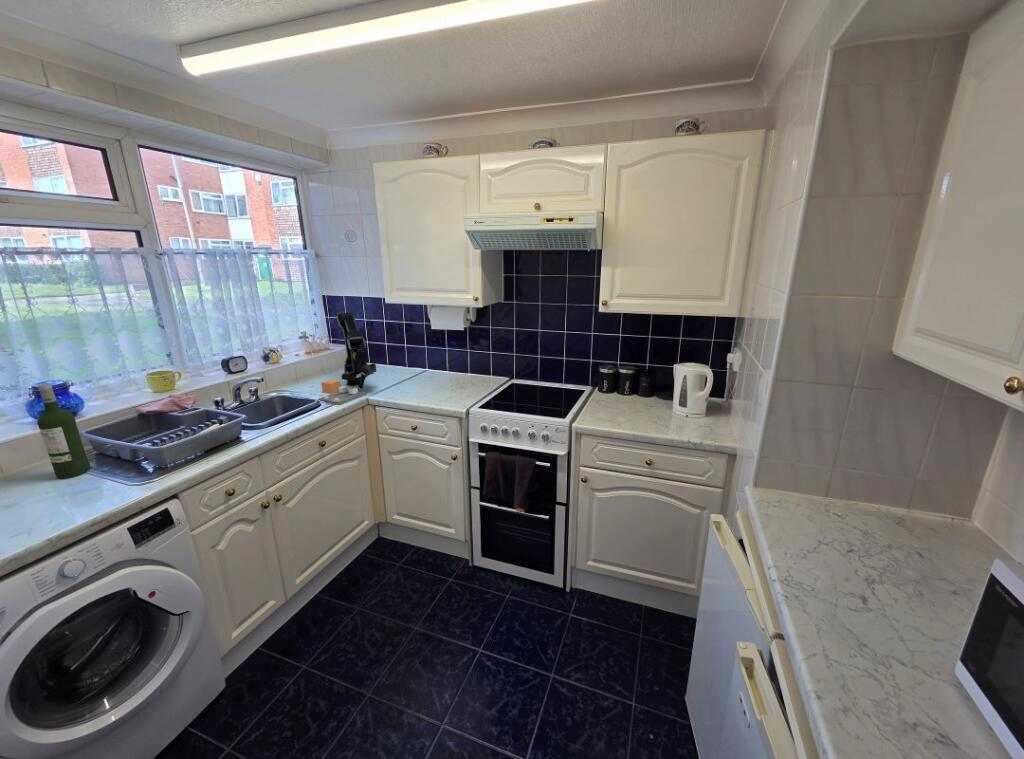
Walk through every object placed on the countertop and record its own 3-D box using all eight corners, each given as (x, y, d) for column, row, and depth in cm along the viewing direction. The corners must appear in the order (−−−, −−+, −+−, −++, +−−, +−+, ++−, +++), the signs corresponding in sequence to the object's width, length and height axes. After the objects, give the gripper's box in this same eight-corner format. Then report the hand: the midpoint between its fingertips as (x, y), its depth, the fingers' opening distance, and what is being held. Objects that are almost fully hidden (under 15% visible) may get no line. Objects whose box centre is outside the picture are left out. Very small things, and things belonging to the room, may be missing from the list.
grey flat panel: (344, 391, 216) (344, 387, 215) (365, 394, 211) (365, 390, 210) (318, 401, 201) (317, 396, 201) (340, 405, 196) (339, 400, 195)
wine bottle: (49, 480, 130) (16, 389, 122) (69, 468, 137) (40, 382, 129) (78, 477, 131) (48, 387, 123) (97, 466, 139) (70, 380, 131)
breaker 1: (343, 390, 212) (343, 386, 211) (348, 391, 211) (347, 386, 210) (339, 392, 209) (338, 387, 209) (343, 392, 208) (343, 388, 208)
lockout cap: (332, 389, 221) (330, 379, 220) (341, 390, 219) (339, 380, 217) (322, 392, 216) (321, 382, 214) (331, 393, 213) (330, 383, 212)
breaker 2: (353, 391, 210) (352, 387, 209) (357, 392, 208) (357, 388, 208) (349, 393, 207) (348, 389, 206) (353, 394, 206) (353, 389, 205)
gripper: (356, 364, 197) (360, 395, 201) (383, 356, 213) (385, 385, 217) (338, 362, 201) (342, 393, 205) (366, 355, 217) (369, 383, 222)
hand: (361, 388), depth 212 cm, fingers closed
